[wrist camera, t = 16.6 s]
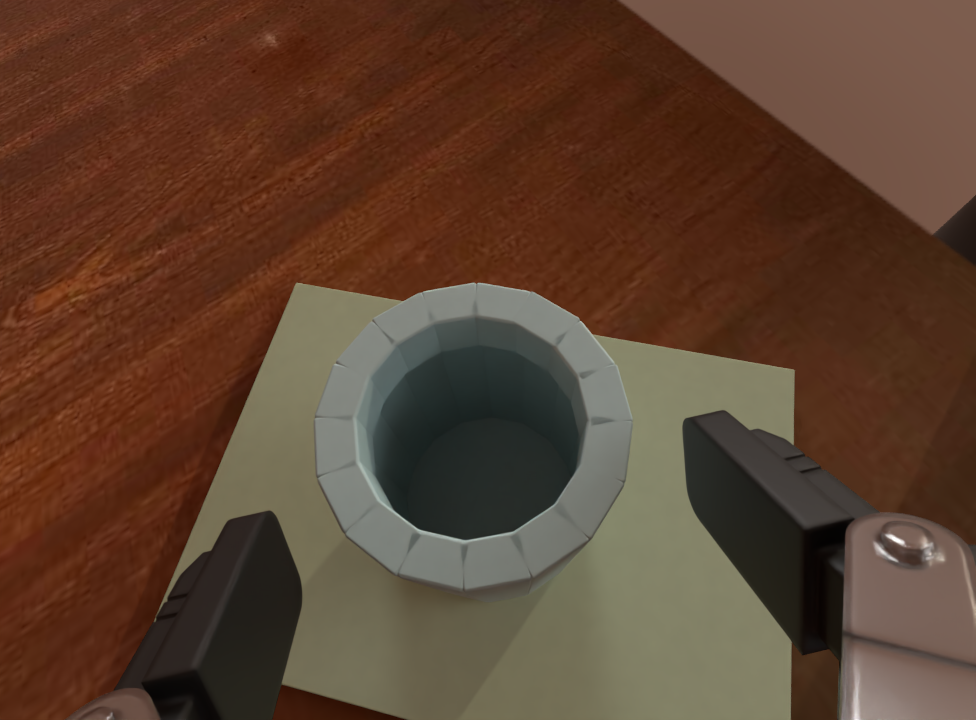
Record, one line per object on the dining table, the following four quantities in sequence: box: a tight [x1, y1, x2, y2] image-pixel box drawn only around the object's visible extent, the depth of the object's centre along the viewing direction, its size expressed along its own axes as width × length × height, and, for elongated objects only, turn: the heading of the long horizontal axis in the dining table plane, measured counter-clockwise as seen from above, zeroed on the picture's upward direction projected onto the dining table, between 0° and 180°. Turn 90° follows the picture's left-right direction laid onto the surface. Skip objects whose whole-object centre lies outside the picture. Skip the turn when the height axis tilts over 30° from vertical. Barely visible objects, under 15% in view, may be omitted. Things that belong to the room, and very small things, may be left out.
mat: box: [154, 283, 794, 720], centre depth 20 cm, size 20×14×1 cm
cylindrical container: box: [313, 283, 633, 603], centre depth 16 cm, size 6×6×9 cm
